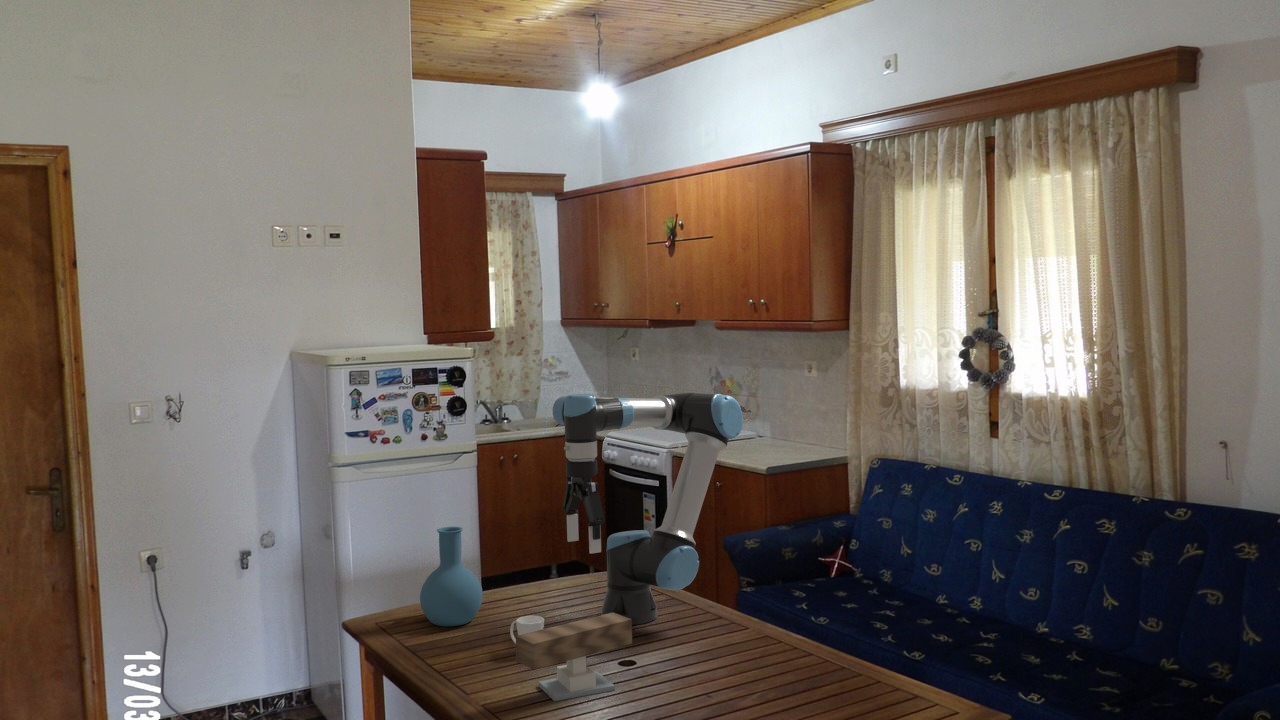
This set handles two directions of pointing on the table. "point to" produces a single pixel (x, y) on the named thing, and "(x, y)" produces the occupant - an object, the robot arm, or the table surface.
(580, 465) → the robot arm
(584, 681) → the fulcrum
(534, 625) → the cup
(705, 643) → the table surface
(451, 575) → the vase
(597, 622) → the beam
